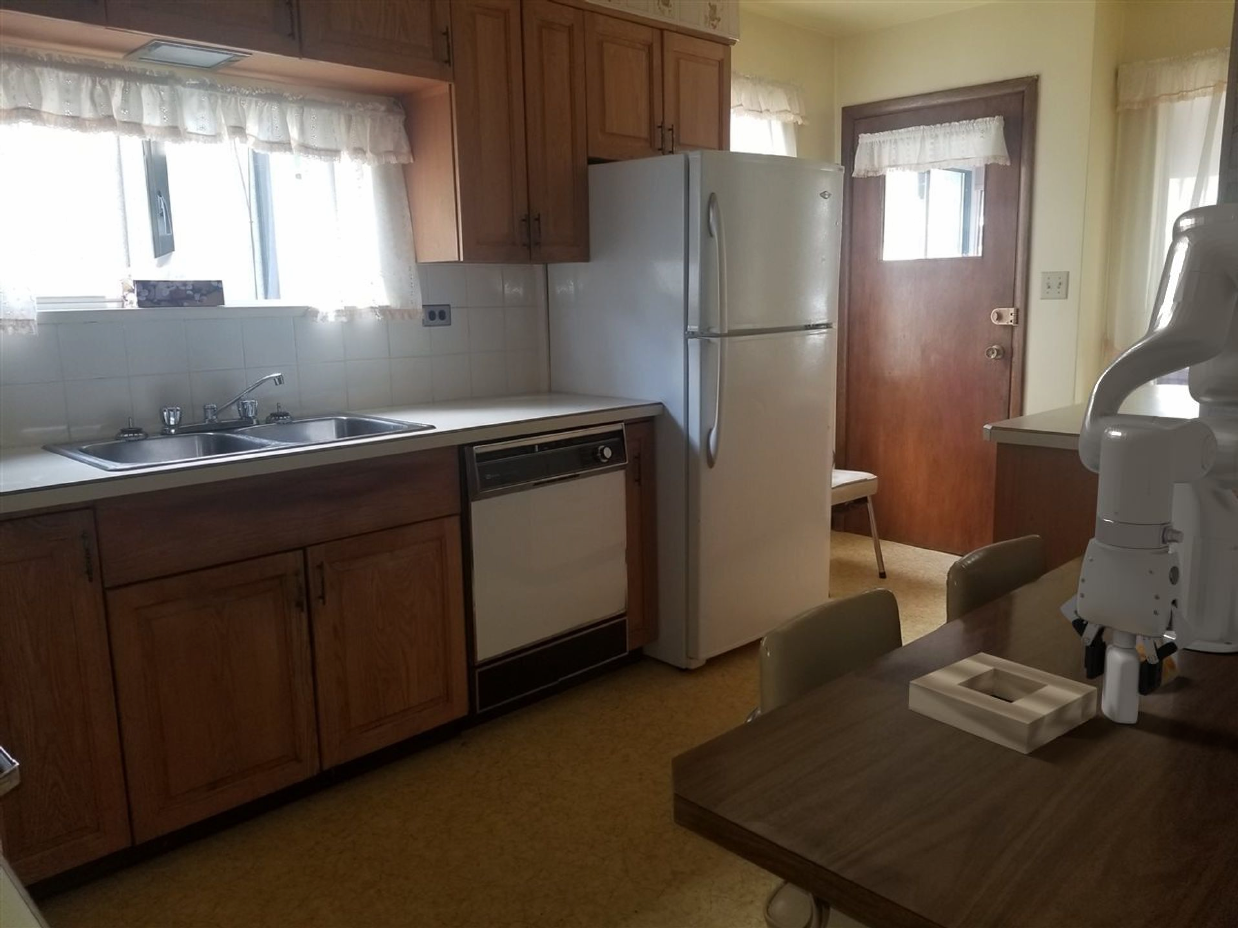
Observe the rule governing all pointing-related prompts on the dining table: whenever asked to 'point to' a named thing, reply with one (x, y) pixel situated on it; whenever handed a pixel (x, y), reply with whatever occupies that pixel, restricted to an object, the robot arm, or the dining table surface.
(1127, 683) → the eye dropper bottle
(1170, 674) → the pastry
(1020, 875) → the dining table surface
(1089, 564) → the robot arm
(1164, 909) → the dining table surface
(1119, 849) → the dining table surface
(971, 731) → the rectangular frame
